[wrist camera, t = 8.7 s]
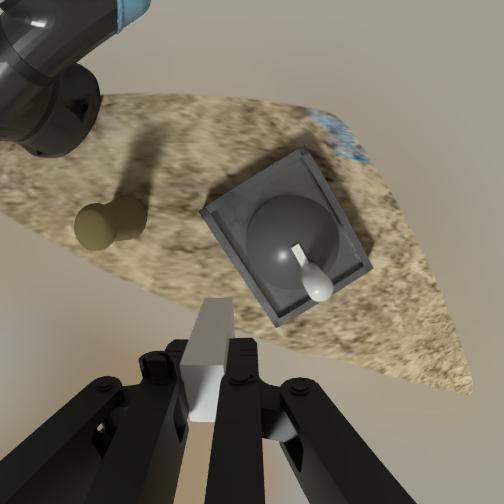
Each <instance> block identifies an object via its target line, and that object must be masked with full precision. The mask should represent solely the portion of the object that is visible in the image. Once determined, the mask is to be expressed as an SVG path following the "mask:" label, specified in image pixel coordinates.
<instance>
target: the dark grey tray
mask: <svg viewBox="0 0 504 504" xmlns="http://www.w3.org/2000/svg"><path fill="white" fill-rule="evenodd" d="M284 195H296V196H302V197H306V198H309V199H312V200H314V201H316V202H318V203H319V204H321V205H322V206H323V207H325V208H326V209H327V210H328V211H329V213H330V214H331V215H332V217H333V219H334V220H335V222H336V225H337V228H338V231H339V237H340V246H339V252H338V256H337V259H336V261H335V263H334V265H333V267H332V268H331V270H330V271H329V272H328V273H327V274H326V276H327V277H328V278H329V279H330V281H331V282H332V284H333V293H332V295H333V294H334V293H336V292H337V291H339V290H341V289H342V288H344V287H345V286H347V285H348V284H350V283H352V282H353V281H355V280H356V279H358V278H359V277H361V276H362V275H364V274H365V273H367V272H368V271H370V270H371V269H373V267H372V265H371V263H370V261H369V259H368V257H367V255H366V253H365V251H364V249H363V247H362V245H361V243H360V241H359V239H358V237H357V235H356V233H355V231H354V229H353V228H352V226H351V224H350V222H349V220H348V218H347V216H346V215H345V213H344V211H343V209H342V207H341V206H340V204H339V202H338V200H337V198H336V197H335V195H334V193H333V191H332V190H331V188H330V186H329V185H328V183H327V181H326V179H325V178H324V176H323V174H322V173H321V171H320V169H319V168H318V166H317V164H316V163H315V161H314V159H313V158H312V156H311V155H310V153H309V151H308V150H307V148H306V147H305V145H304V146H303V147H301V148H299V149H297V150H296V151H294V152H292V153H291V154H289V155H287V156H286V157H284V158H282V159H280V160H279V161H277V162H275V163H274V164H272V165H271V166H269V167H267V168H266V169H264V170H262V171H261V172H259V173H257V174H256V175H254V176H253V177H251V178H249V179H248V180H246V181H245V182H243V183H241V184H240V185H238V186H237V187H235V188H233V189H232V190H230V191H229V192H227V193H226V194H224V195H223V196H221V197H219V198H218V199H216V200H215V201H213V202H212V203H210V204H209V205H207V206H206V207H204V208H203V209H201V210H200V211H199V213H200V214H201V216H202V217H203V219H204V220H205V222H206V224H207V225H208V227H209V228H210V230H211V231H212V233H213V234H214V236H215V237H216V239H217V240H218V242H219V243H220V245H221V246H222V248H223V249H224V251H225V252H226V254H227V255H228V257H229V258H230V260H231V261H232V263H233V264H234V266H235V267H236V269H237V270H238V272H239V273H240V275H241V276H242V278H243V279H244V281H245V282H246V284H247V285H248V287H249V288H250V290H251V291H252V293H253V294H254V296H255V297H256V299H257V300H258V302H259V303H260V305H261V306H262V308H263V309H264V311H265V312H266V314H267V315H268V316H269V318H270V319H271V321H272V322H273V324H274V325H275V327H276V328H277V327H279V326H281V325H283V324H284V323H286V322H288V321H290V320H291V319H293V318H295V317H296V316H298V315H300V314H301V313H303V312H305V311H306V310H308V309H310V308H311V307H313V306H315V305H316V304H318V303H320V302H317V301H314V300H313V299H311V297H310V296H309V294H308V292H307V290H306V289H305V288H302V289H295V290H288V289H281V288H278V287H275V286H272V285H270V284H268V283H267V282H265V281H264V280H263V279H261V278H260V277H259V276H258V275H257V274H256V272H255V271H254V270H253V268H252V266H251V264H250V263H249V260H248V257H247V253H246V232H247V227H248V225H249V222H250V220H251V218H252V216H253V215H254V213H255V212H256V211H257V210H258V209H259V208H260V207H261V206H262V205H263V204H264V203H266V202H267V201H269V200H271V199H273V198H276V197H279V196H284Z"/></svg>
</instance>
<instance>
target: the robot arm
mask: <svg viewBox="0 0 504 504" xmlns="http://www.w3.org/2000/svg"><path fill="white" fill-rule="evenodd" d="M150 1H151V0H0V8H1V9H2V10H3V11H4V12H3V13H2V14H1V15H0V141H10V142H16V143H17V144H18V145H20V146H21V147H22V148H24V149H25V150H26V151H28V152H29V153H31V154H32V155H34V156H37V157H42V158H58V157H61V156H64V155H66V154H68V153H69V152H71V151H72V150H74V149H75V148H76V147H77V146H78V145H79V144H80V143H81V142H82V141H83V140H84V139H85V137H86V136H87V134H88V133H89V131H90V130H91V128H92V126H93V124H94V121H95V119H96V116H97V113H98V109H99V103H100V90H99V86H98V82H97V80H96V78H95V76H94V75H93V74H92V73H91V72H90V71H89V70H88V69H86V68H85V67H83V66H82V65H80V64H77V63H76V62H78V61H79V60H80V59H81V58H83V57H84V56H85V55H87V54H88V53H89V52H91V51H92V50H93V49H95V48H96V47H97V46H99V45H100V44H102V43H103V42H104V41H106V40H107V39H109V38H110V37H112V36H113V35H114V34H118V33H120V32H121V31H122V29H123V28H124V27H126V26H127V25H128V24H130V23H131V22H133V21H134V20H136V19H137V18H139V17H140V16H142V15H143V14H144V13H145V12H146V11H147V10H148V8H149V6H150ZM139 364H140V368H141V372H142V376H143V379H142V381H141V383H140V384H137V385H131V386H122V383H121V381H120V380H119V379H118V378H116V377H111V376H104V377H100V378H97V379H95V380H94V381H92V382H91V383H90V384H88V385H87V386H86V387H85V388H84V389H83V390H82V391H80V392H79V393H78V394H77V395H76V396H75V397H73V398H72V399H71V400H70V401H69V402H68V403H66V404H65V405H64V406H63V407H62V408H61V409H59V410H58V411H57V412H56V413H55V414H54V415H53V416H51V417H50V418H49V419H48V420H47V421H46V422H45V423H43V424H42V425H41V426H40V427H39V428H38V429H37V430H35V431H34V432H33V433H32V434H31V435H29V436H28V437H27V438H26V439H25V440H24V441H23V442H21V443H20V444H19V445H18V446H17V447H16V448H15V449H13V450H12V451H11V452H10V453H9V454H8V455H7V456H5V458H3V459H2V460H1V461H0V504H173V502H174V497H175V492H176V487H177V483H178V478H179V473H180V468H181V464H182V459H183V454H184V449H185V445H186V441H187V435H188V431H189V429H188V423H187V418H188V414H189V415H190V420H191V421H195V422H215V426H214V433H213V440H212V449H211V456H210V464H209V471H208V479H207V487H206V495H205V503H204V504H265V490H264V471H263V470H264V469H263V448H262V438H265V439H271V440H276V441H279V442H280V446H281V448H282V450H283V452H284V454H285V456H286V458H287V460H288V462H289V464H290V466H291V468H292V470H293V472H294V474H295V476H296V478H297V480H298V482H299V484H300V486H301V488H302V489H303V492H304V493H305V495H306V497H307V499H308V501H309V503H310V504H417V503H416V502H415V501H414V500H413V499H412V498H411V496H410V495H409V494H408V493H407V492H406V491H405V489H404V488H403V487H402V486H401V485H400V484H399V482H398V481H397V480H396V479H395V478H394V477H393V475H392V474H391V473H390V472H389V471H388V469H387V468H386V467H385V466H384V465H383V463H382V462H381V461H380V460H379V459H378V458H377V456H376V455H375V454H374V453H373V451H372V450H371V449H370V448H369V447H368V446H367V444H366V443H365V442H364V440H363V439H362V438H361V437H360V436H359V434H358V433H357V432H356V431H355V429H354V428H353V427H352V426H351V424H350V423H349V422H348V421H347V420H346V418H345V417H344V416H343V414H342V413H341V412H340V411H339V410H338V408H337V407H336V406H335V405H334V403H333V402H332V401H331V400H330V398H329V397H328V396H327V394H326V393H325V392H324V391H323V389H322V388H321V387H320V386H319V384H318V383H316V382H315V381H314V380H311V379H308V378H301V377H299V378H292V379H289V380H286V381H285V382H284V383H283V384H282V385H281V387H278V386H273V385H269V384H267V383H265V382H263V381H262V380H261V379H260V377H259V372H258V353H257V342H256V341H255V340H254V339H253V338H235V327H234V312H233V298H204V301H203V304H202V306H201V309H200V312H199V314H198V317H197V320H196V322H195V325H194V327H193V330H192V333H191V336H190V338H189V340H183V339H182V340H180V339H175V340H173V341H172V342H171V343H169V344H168V345H167V347H166V349H165V351H152V352H149V353H146V354H144V355H142V356H141V357H140V358H139ZM101 423H102V425H103V428H102V429H101V430H100V431H98V430H97V427H98V426H99V425H100V424H101Z"/></svg>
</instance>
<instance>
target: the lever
mask: <svg viewBox="0 0 504 504" xmlns="http://www.w3.org/2000/svg"><path fill="white" fill-rule="evenodd" d="M339 246H340V237H339V231H338V228H337V225H336V222H335V220H334V219H333V217H332V215H331V214H330V213H329V211H328V210H327V209H326V208H325V207H323V206H322V205H321V204H319V203H318V202H316V201H314V200H312V199H309V198H306V197H302V196H296V195H284V196H279V197H276V198H273V199H271V200H269V201H267V202H266V203H264V204H263V205H262V206H261V207H260V208H259V209H258V210H257V211H256V212H255V213H254V215H253V216H252V218H251V220H250V222H249V225H248V227H247V232H246V253H247V257H248V260H249V263H250V264H251V266H252V268H253V270H254V271H255V272H256V274H257V275H258V276H259V277H260V278H261V279H263V280H264V281H265V282H267V283H268V284H270V285H272V286H275V287H278V288H281V289H288V290H295V289H302V288H305V289H306V290H307V292H308V294H309V296H310V297H311V299H313V300H314V301H317V302H322V301H325V300H327V299H328V298H329V297H330V296H331V295H332V293H333V284H332V282H331V281H330V279H329V278H328V277H327V276H326V274H327V273H328V272H329V271H330V270H331V268H332V267H333V265H334V263H335V261H336V259H337V256H338V252H339Z"/></svg>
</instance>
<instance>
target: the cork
mask: <svg viewBox="0 0 504 504" xmlns="http://www.w3.org/2000/svg"><path fill="white" fill-rule="evenodd" d="M146 221H147V218H146V211H145V208H144V206H143V205H142V204H141V202H140V201H139V200H137V199H136V198H134V197H130V196H123V197H120V198H118V199H116V200H114V201H111V202H109V203H107V204H105V205H103V204H100V203H94V204H89V205H87V206H85V207H84V208H82V209H81V210H80V211H79V213H78V215H77V216H76V219H75V224H74V231H75V235H76V238H77V239H78V241H79V242H80V244H81V245H82V246H84V247H85V248H86V249H89V250H97V251H100V250H102V249H105V248H107V247H108V246H109V245H110V244H112V243H113V241H122V240H130V239H133V238H136V237H137V236H139V235H140V234H141V233H142V231H143V230H144V228H145V225H146Z"/></svg>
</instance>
